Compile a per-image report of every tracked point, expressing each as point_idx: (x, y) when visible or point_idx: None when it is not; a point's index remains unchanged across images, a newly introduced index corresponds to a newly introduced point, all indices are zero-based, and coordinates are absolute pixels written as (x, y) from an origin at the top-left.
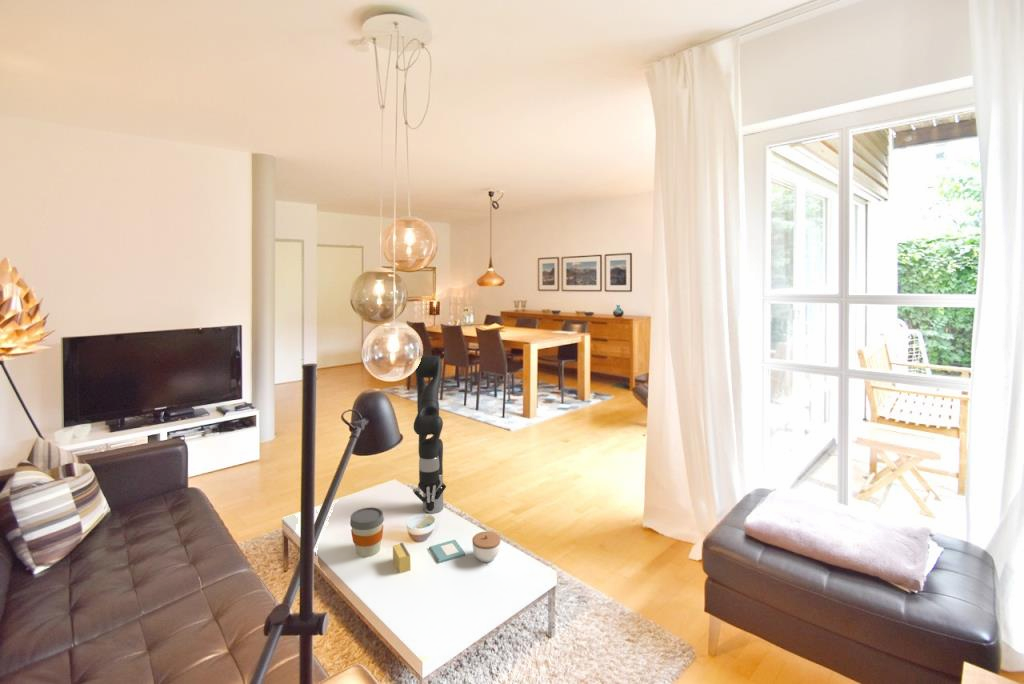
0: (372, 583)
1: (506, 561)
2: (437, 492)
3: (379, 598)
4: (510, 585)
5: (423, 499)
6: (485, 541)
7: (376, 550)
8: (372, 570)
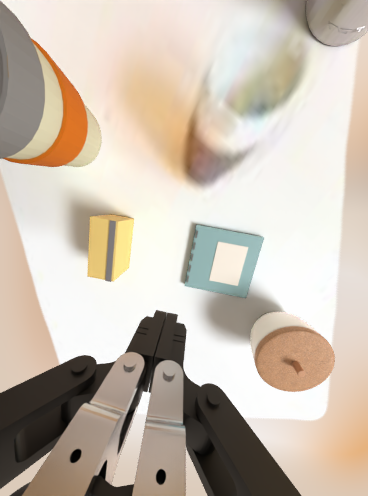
0: (55, 258)
1: None
2: (235, 452)
3: (56, 301)
4: (246, 402)
5: (62, 427)
6: (283, 371)
7: (81, 163)
8: (64, 220)
